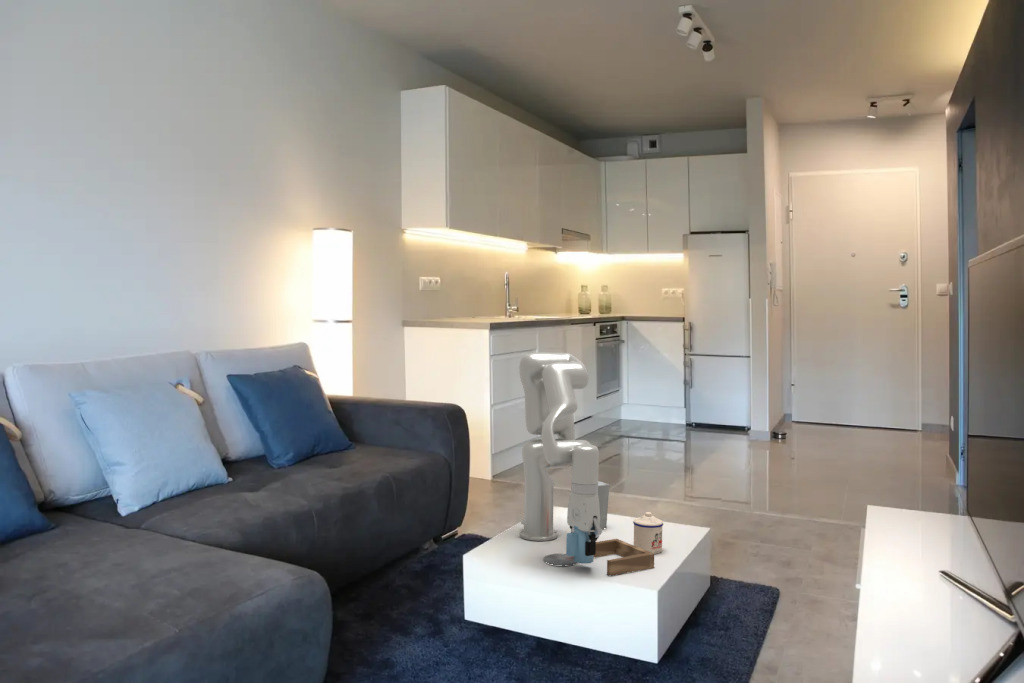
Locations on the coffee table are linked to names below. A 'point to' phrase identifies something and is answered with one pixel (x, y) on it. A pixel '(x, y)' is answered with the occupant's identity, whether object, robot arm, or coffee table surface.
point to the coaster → (559, 559)
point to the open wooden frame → (624, 556)
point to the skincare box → (603, 502)
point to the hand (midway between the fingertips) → (583, 551)
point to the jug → (578, 546)
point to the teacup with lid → (648, 533)
